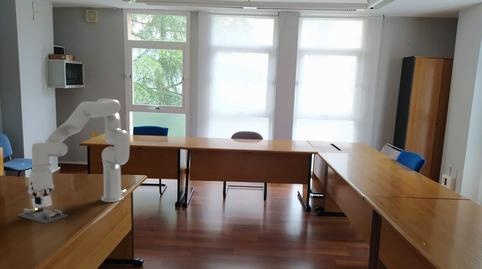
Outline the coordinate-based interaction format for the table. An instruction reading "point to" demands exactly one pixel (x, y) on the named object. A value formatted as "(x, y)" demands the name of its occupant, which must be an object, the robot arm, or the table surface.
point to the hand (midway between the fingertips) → (41, 202)
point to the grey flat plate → (38, 216)
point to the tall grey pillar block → (42, 202)
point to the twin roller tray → (44, 216)
